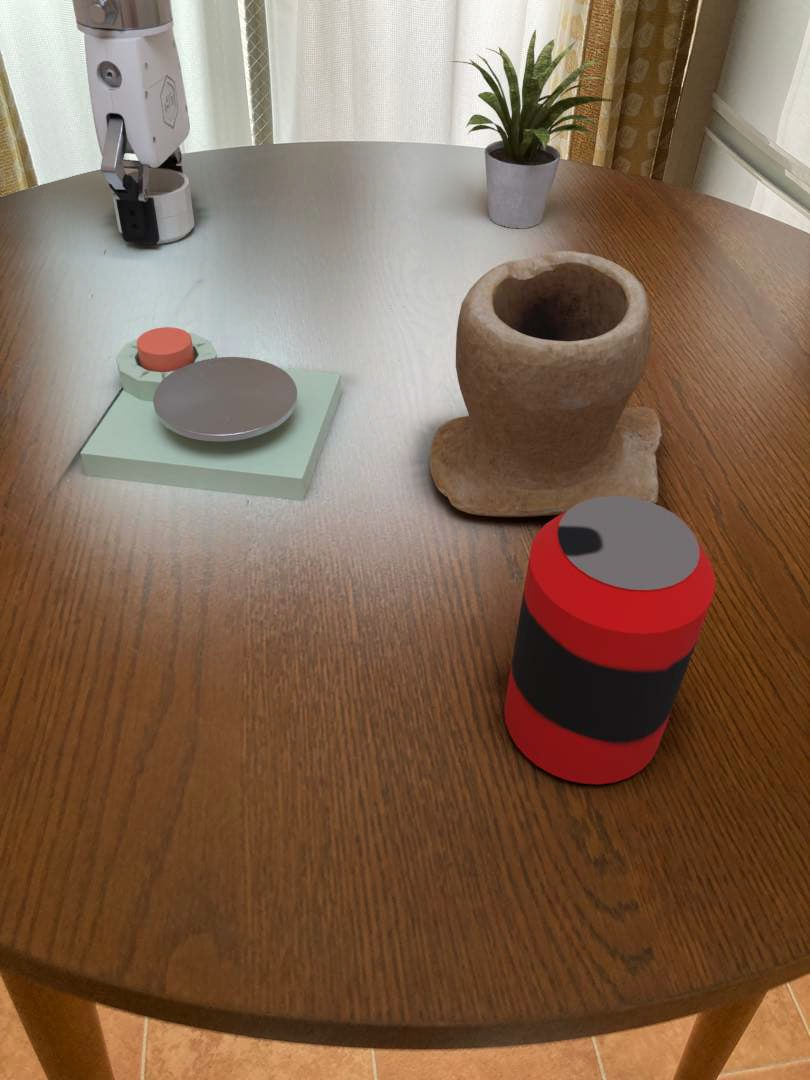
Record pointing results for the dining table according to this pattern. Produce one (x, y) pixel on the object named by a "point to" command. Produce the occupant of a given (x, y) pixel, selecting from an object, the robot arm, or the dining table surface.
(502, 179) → the house plant
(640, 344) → the stone cup
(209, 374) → the plate
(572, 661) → the soda can
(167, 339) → the tare button
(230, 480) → the scale
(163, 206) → the bowl
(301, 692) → the dining table surface
